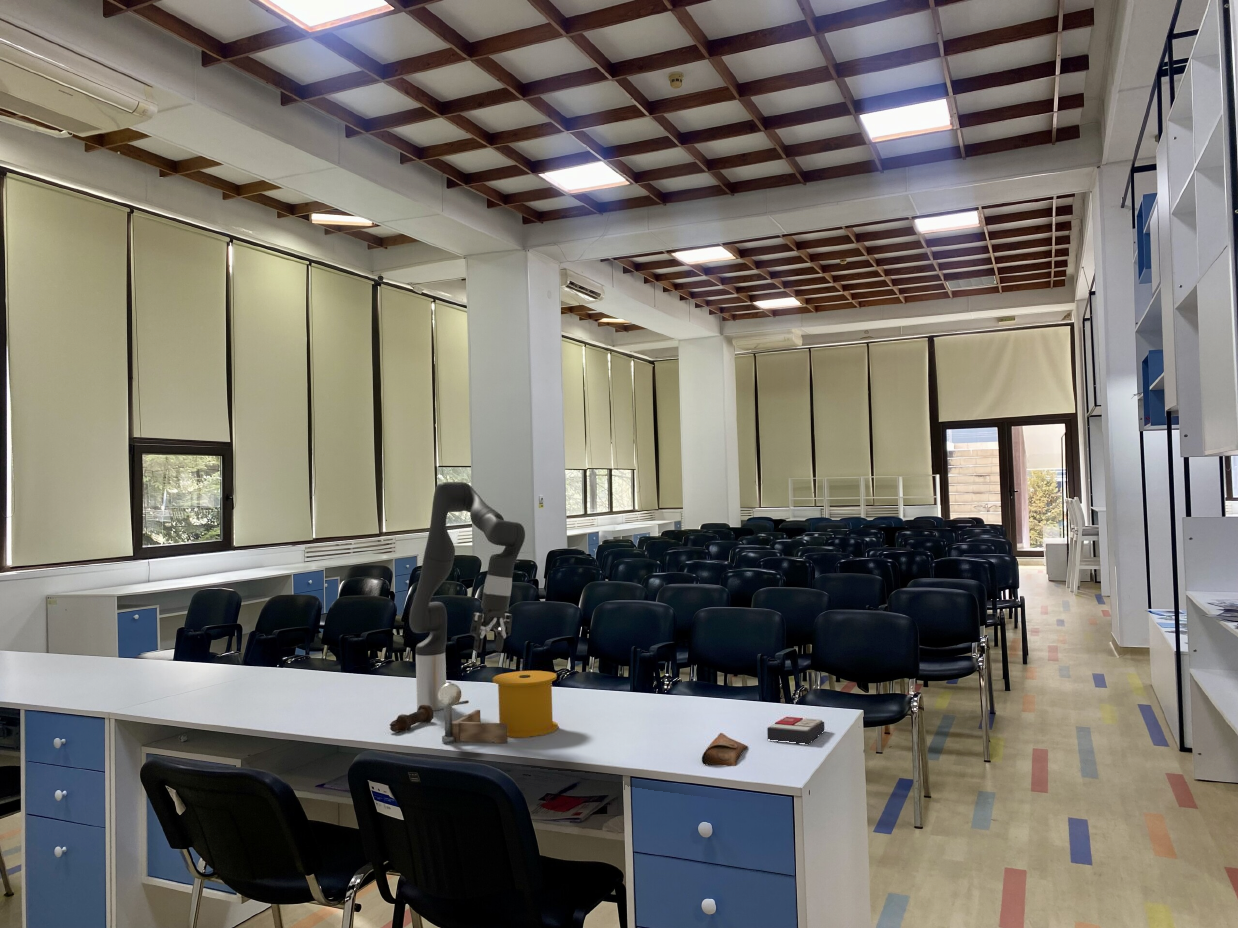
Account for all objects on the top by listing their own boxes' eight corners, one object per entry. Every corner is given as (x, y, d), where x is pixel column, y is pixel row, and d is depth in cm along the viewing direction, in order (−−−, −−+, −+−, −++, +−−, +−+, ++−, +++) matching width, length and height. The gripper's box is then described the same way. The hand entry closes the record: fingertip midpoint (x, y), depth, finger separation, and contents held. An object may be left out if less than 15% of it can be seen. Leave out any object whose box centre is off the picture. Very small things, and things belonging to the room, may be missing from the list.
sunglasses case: (737, 766, 211) (721, 741, 212) (712, 780, 212) (697, 755, 213) (749, 746, 228) (735, 722, 229) (726, 759, 229) (712, 735, 231)
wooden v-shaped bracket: (464, 750, 232) (463, 731, 232) (437, 733, 251) (437, 715, 251) (508, 742, 238) (508, 723, 239) (479, 726, 257) (479, 709, 257)
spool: (502, 721, 263) (501, 670, 263) (563, 721, 261) (561, 669, 261) (486, 737, 245) (485, 682, 245) (551, 737, 243) (549, 681, 243)
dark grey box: (824, 718, 240) (807, 728, 227) (825, 734, 240) (808, 745, 227) (785, 715, 246) (766, 724, 233) (785, 731, 245) (767, 741, 232)
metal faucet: (441, 745, 238) (439, 685, 238) (436, 742, 241) (434, 682, 242) (472, 740, 242) (471, 680, 243) (467, 737, 246) (465, 678, 247)
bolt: (391, 740, 253) (425, 725, 266) (403, 732, 251) (436, 718, 264) (382, 721, 254) (417, 707, 268) (394, 713, 252) (428, 700, 266)
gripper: (503, 591, 255) (494, 648, 254) (469, 589, 243) (459, 649, 242) (523, 595, 251) (514, 653, 249) (490, 593, 239) (480, 654, 238)
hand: (487, 651), depth 246 cm, fingers open, 8 cm apart
